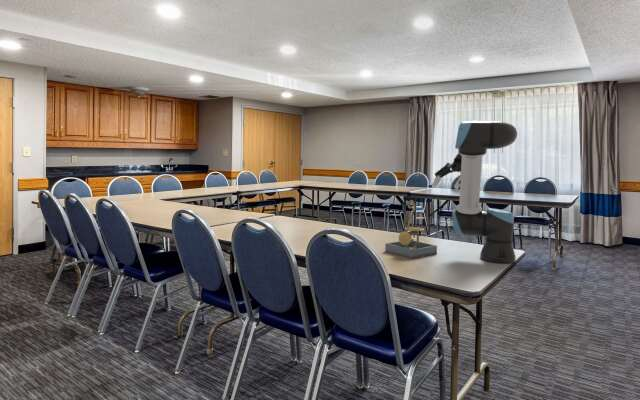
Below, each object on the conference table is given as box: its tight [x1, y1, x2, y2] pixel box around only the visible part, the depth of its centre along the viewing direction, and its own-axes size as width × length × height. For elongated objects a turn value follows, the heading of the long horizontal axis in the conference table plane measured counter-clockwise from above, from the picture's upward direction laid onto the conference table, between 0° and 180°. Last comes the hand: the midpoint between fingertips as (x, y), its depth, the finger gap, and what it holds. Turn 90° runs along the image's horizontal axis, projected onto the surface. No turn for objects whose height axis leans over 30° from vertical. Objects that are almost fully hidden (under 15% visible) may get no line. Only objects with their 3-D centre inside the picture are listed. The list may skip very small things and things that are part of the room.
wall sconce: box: [398, 199, 425, 250], centre depth 208 cm, size 14×10×25 cm
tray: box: [384, 240, 438, 259], centre depth 210 cm, size 17×18×4 cm
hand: (444, 187), depth 217 cm, fingers open, 13 cm apart
